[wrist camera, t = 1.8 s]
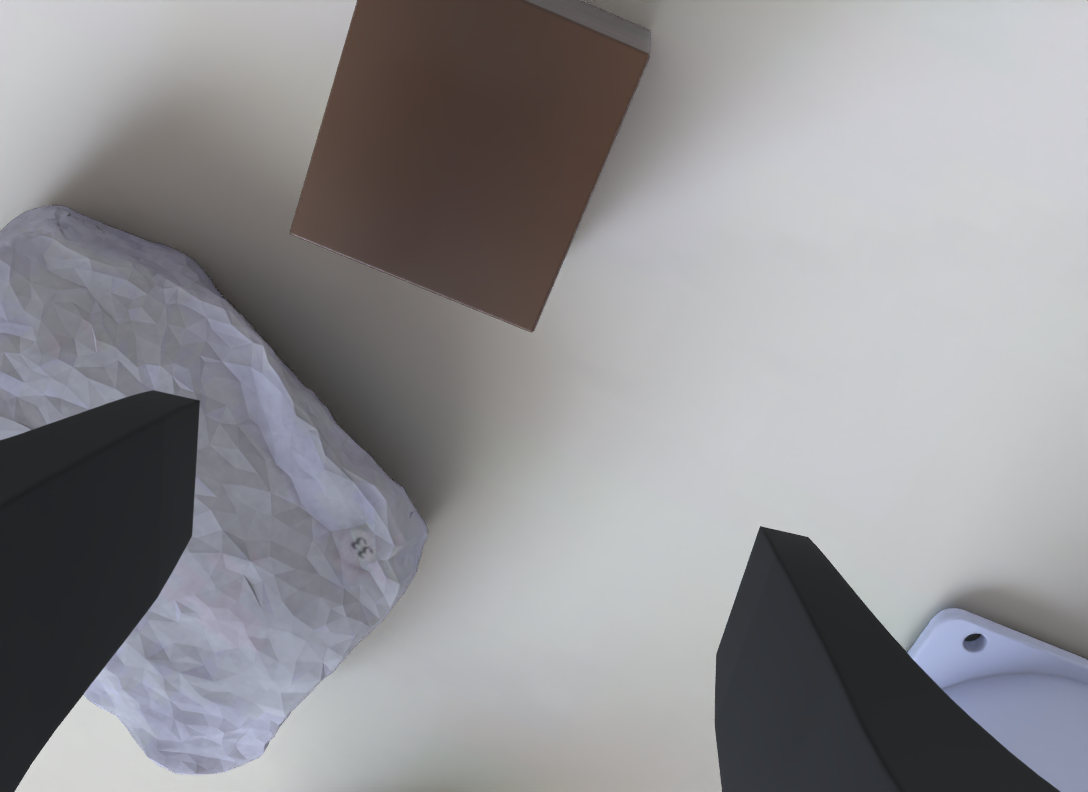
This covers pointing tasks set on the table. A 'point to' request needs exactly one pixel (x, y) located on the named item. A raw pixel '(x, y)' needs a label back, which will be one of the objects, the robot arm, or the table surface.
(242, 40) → the table surface
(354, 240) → the walnut block
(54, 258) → the stone block
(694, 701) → the table surface
